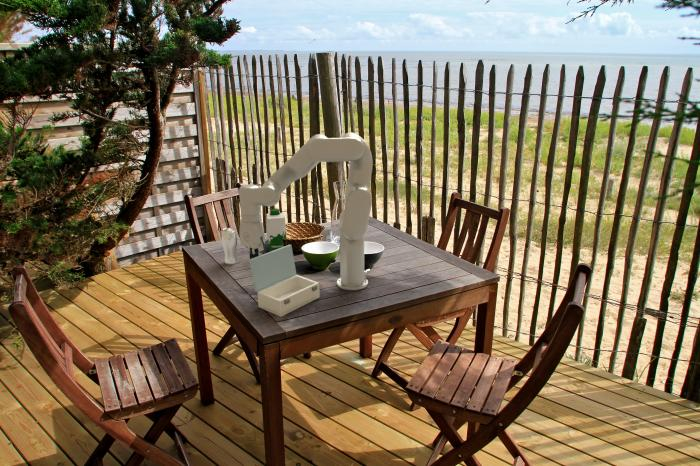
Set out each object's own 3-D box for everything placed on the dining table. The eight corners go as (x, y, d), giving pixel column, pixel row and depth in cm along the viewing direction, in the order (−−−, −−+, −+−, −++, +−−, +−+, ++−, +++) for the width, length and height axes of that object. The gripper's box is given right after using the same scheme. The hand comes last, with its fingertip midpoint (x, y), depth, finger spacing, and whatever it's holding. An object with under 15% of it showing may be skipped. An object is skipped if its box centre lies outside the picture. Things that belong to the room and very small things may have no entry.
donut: (340, 246, 252) (340, 226, 249) (340, 248, 249) (340, 228, 245) (319, 246, 252) (319, 226, 249) (319, 249, 249) (318, 229, 245)
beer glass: (237, 264, 231) (235, 232, 226) (222, 265, 231) (218, 232, 226) (241, 259, 238) (238, 227, 233) (225, 259, 238) (223, 227, 233)
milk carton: (286, 248, 250) (283, 207, 244) (287, 254, 242) (285, 213, 235) (267, 249, 248) (264, 209, 242) (268, 256, 240) (265, 214, 234)
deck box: (297, 288, 207) (296, 274, 205) (321, 297, 199) (320, 283, 197) (258, 306, 193) (257, 291, 191) (282, 317, 185) (281, 302, 183)
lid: (296, 274, 205) (294, 274, 206) (291, 244, 203) (289, 244, 204) (256, 291, 191) (254, 291, 192) (250, 260, 188) (248, 259, 189)
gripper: (230, 216, 200) (234, 260, 206) (256, 223, 191) (259, 270, 197) (246, 211, 206) (249, 255, 212) (272, 218, 196) (274, 264, 202)
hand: (254, 262), depth 204 cm, fingers closed
